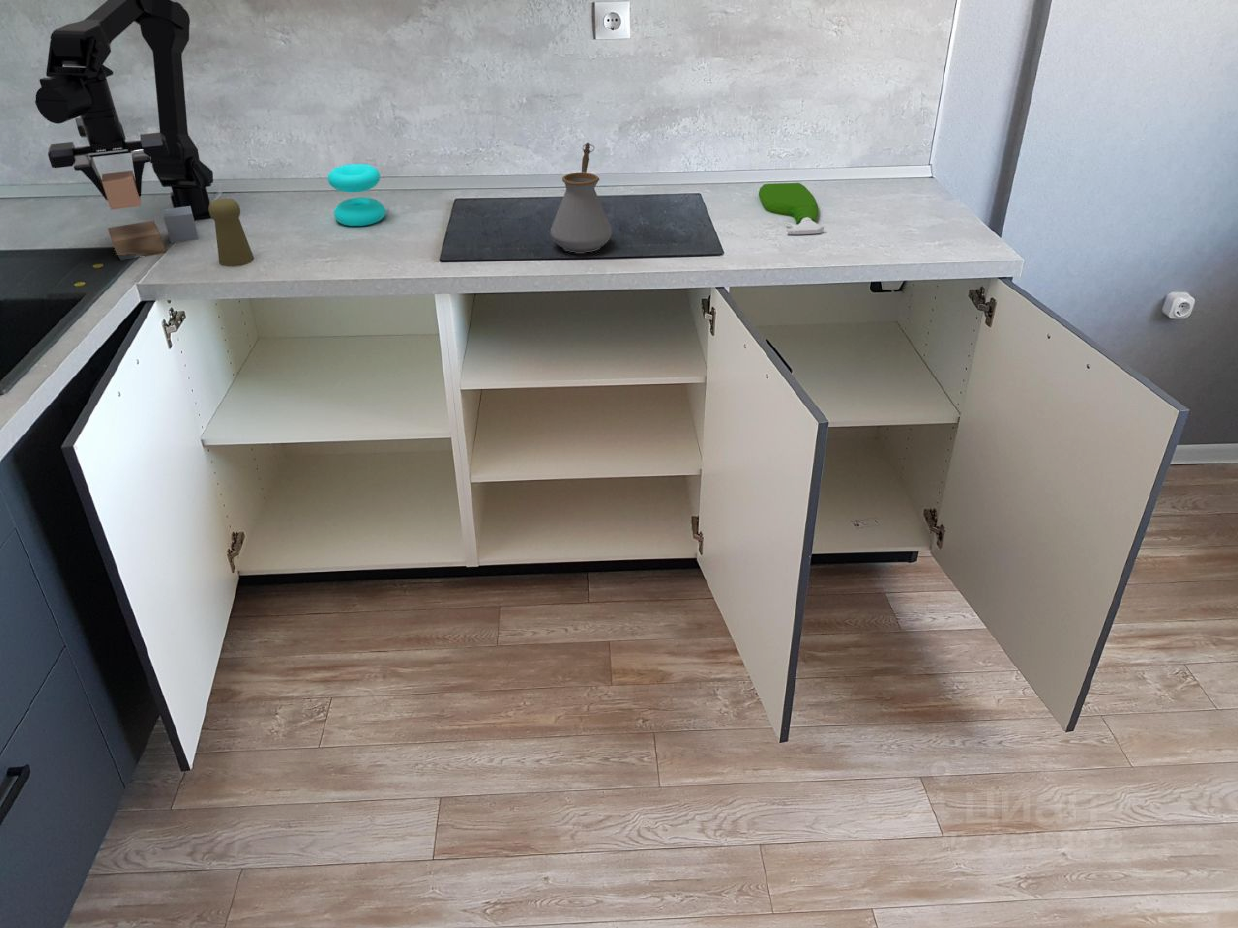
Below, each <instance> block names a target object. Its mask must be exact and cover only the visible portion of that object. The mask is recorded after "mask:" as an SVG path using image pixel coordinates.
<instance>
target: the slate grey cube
mask: <svg viewBox="0 0 1238 928" xmlns="http://www.w3.org/2000/svg"><path fill="white" fill-rule="evenodd" d="M162 216H163V220H164V224H165V227H166V230H167V235H168V237H169V241H170V243H171V244H173V243H179V242H186V241H187V242H188V241H192V240H199V239H200V237H199V235H198V230H197V225H196V222H195V219H194V218H193V214H192V210H191V206H186V207H178V208H174V207H171V208H165V209H162Z"/></svg>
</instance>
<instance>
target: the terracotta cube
mask: <svg viewBox="0 0 1238 928" xmlns="http://www.w3.org/2000/svg"><path fill="white" fill-rule="evenodd" d="M101 179H102V183H103V187H104V190H105V193H106V196H107V199H108V201H107V203H108V205H109V208H110V210H111V211H113V210H120V209H127V208H134V207H135V208H136V207H141V206H142V203H141V202H142V201H141V200H142V199H141V197H139V195H138V192H137V188H136V182H135V175H134V170H126V171H125V170H124V171H116V172H109V173H102V174H101Z"/></svg>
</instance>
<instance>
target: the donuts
mask: <svg viewBox="0 0 1238 928" xmlns="http://www.w3.org/2000/svg"><path fill="white" fill-rule="evenodd" d="M380 180H381V174H380V171H379V170H378V169H377V168H376V167H375V166H372V165H369V164H362V163H352V164H345V165H341V166H338V167H335V168H333V169H332V170H330V171H329V173H328V175H327V181H328V184H329V185H330V186H331V188H333V189H334V190H337V191H339V192H343V193H362V192H365V191H366V192H367V191H370V190H371V189H374V188H375V187H376V186H378V184H379V182H380ZM333 213H334V214H333V215H334V218H335V220H336V221H337V222H338V223H340V224H341V225H344V226H349V227H364V226H365V227H366V226H370V225H374V224H376V223H379V222H380V221H382V220H383V219H384V218H385V215H386V208H385V206H384V204H382V203H381V201H379V200H377V199H376V198H375V199H374V198H370V197H353V198H350V199H346V200H343V201H342V202H339V203H338V205H337V206H336V207H335V208H334V211H333Z"/></svg>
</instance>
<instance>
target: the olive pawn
mask: <svg viewBox="0 0 1238 928" xmlns="http://www.w3.org/2000/svg"><path fill="white" fill-rule="evenodd" d="M208 210H209V214H210V216H211V217H210V218H211V219H212V220H213V221H214V227H215V236H216V237H215V238H216V244H217V245H216V246H217V256H218V262H219V264H220V265H221V266H224V267H239V266H243V265H247V264H249V263H251V262H252V261H254V259H255V258H254V255H253V252H252V249H251V247H250V244H249V241H248V239H247V237H246V233H245V230H244V227H243V225H242V223H241V220H240V215H241V209H240V205H239V204H238V202H237V201H236V200H235V199H231V198H218V199H214V200H213V201H210V204H209V207H208Z"/></svg>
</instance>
